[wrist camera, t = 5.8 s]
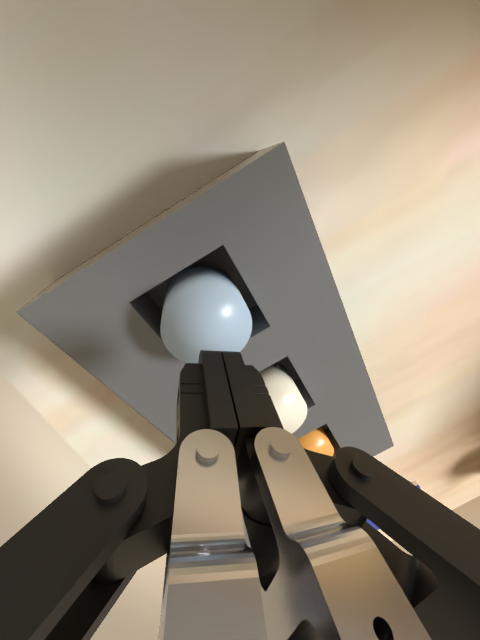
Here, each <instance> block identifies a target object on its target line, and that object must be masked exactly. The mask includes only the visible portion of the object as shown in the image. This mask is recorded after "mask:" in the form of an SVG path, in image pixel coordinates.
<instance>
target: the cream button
mask: <svg viewBox="0 0 480 640" xmlns="http://www.w3.org/2000/svg"><path fill="white" fill-rule="evenodd" d="M260 373H261V375H262V377H263V380H264V382H265V386H266V387H267V389H268V392H269V395H270V396H271V399H272V401H273V404H274V406H275V409H276V411H277V413H278V416H279V418H280V421H281V423H282V426H283V428H284V430H287V431H288V432H290V433H291V434H292V433H294V432H295V431H296V430H297V429H298V428H299V427H300V426H301V425H302V424H303V422H304V421H305V419H306V416H307V405H306V403H305V401H304V399H303V397H302V395H301V394H300V392H299V390H298V388H297V386H296V385H295V383H294V381H293V379H292V377H291V376H290V374H289V372H288V370H287V369H286V367H285V366H284V365H282V364H281V363H278V362H276V363H274V364H273V365H271V366H269V367H267V368H265V369H264V370H262V371H260Z"/></svg>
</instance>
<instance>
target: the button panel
mask: <svg viewBox="0 0 480 640" xmlns="http://www.w3.org/2000/svg"><path fill="white" fill-rule="evenodd" d="M195 266H210V267H214V268H217V269H220V270H222V271H223V272H225V273H226V274H228V275H229V276H230V277H231V278H232V279H233V281H234V282H235V284H236V286H237V288H238V289H239V291H240V293H241V295H242V297H243V299H244V301H245V303H246V305H247V307H248V309H249V311H250V314H251V318H252V331H251V335H250V338H249V340H248V342H247V344H246V345H245V347H244V348H243V349H242V350H241V351H240V353H241V355H242V358H243V361H244V364H245V365H253V366H254V367H255V368H256V369H257V370H258V371H259V372H260V371H262V370H264V369H265V368H267V367H269V366H271V365H273V364H274V363H276V362H278V363H281V364H282V365H284V366H285V367H286V369H287V370H288V372H289V374H290V376H291V377H292V379H293V381H294V383H295V385H296V386H297V388H298V390H299V392H300V394H301V395H302V397H303V399H304V401H305V403H306V405H307V416H306V419H305V421H304V422H303V424H302V425H301V426H300V427H299V428H298V429H297V430H296V431H295V432H294V433H292V434H293V435H294V436H295V437H296V438H297V439H298V438H300V437H302V436H304V435H306V434H308V433H310V432H311V431H313V430H315V429H317V428H319V427H322V428H323V430H324V432H325V434H326V436H327V437H328V439H329V441H330V443H331V444H332V446H333V448H334V454H333V457H334V456H335V454H336V452H337V451H338V450H339V449H340V448H342V447H347V446H348V447H355V448H358V449H361V450H363V451H365V452H366V453H368V454H369V455H371V456H372V457H373V456H375V455H377V454H379V453H381V452H383V451H385V450H387V449H389V448H390V447H392V446H394V445H393V442H392V439H391V437H390V434H389V431H388V428H387V425H386V423H385V420H384V417H383V414H382V412H381V409H380V406H379V403H378V401H377V398H376V395H375V392H374V389H373V387H372V384H371V381H370V378H369V376H368V373H367V370H366V367H365V364H364V362H363V359H362V356H361V353H360V351H359V348H358V345H357V342H356V340H355V337H354V334H353V331H352V328H351V326H350V323H349V320H348V317H347V315H346V312H345V309H344V306H343V303H342V301H341V298H340V295H339V292H338V290H337V287H336V284H335V281H334V278H333V276H332V273H331V270H330V267H329V265H328V262H327V259H326V256H325V254H324V251H323V248H322V245H321V242H320V240H319V237H318V234H317V231H316V229H315V226H314V223H313V220H312V217H311V215H310V212H309V209H308V206H307V204H306V201H305V198H304V195H303V193H302V190H301V187H300V184H299V181H298V179H297V176H296V173H295V170H294V168H293V165H292V162H291V159H290V156H289V154H288V151H287V148H286V145H285V143H284V142H282V143H279V144H276V145H274V146H271V147H268V148H265V149H262V150H259V151H258V152H256V153H255V154H253V155H252V156H250V157H248V158H247V159H245V160H244V161H242V162H241V163H239V164H237V165H236V166H234V167H233V168H231V169H230V170H228V171H227V172H225V173H223V174H222V175H220V176H219V177H217V178H216V179H214V180H212V181H211V182H209V183H208V184H206V185H205V186H203V187H202V188H200V189H198V190H197V191H195V192H194V193H192V194H191V195H189V196H187V197H186V198H184V199H183V200H181V201H180V202H178V203H176V204H175V205H173V206H172V207H170V208H169V209H167V210H166V211H164V212H162V213H161V214H159V215H158V216H156V217H155V218H153V219H151V220H150V221H148V222H147V223H145V224H144V225H142V226H141V227H139V228H137V229H136V230H134V231H133V232H131V233H130V234H128V235H126V236H125V237H123V238H122V239H120V240H119V241H117V242H116V243H114V244H112V245H111V246H109V247H108V248H106V249H105V250H103V251H101V252H100V253H98V254H97V255H95V256H94V257H92V258H91V259H89V260H87V261H86V262H84V263H83V264H81V265H80V266H78V267H76V268H75V269H73V270H72V271H70V272H69V273H67V274H65V275H64V276H62V277H61V278H59V279H58V280H56V281H55V282H53V283H52V284H51V285H49V286H48V287H47V288H46V289H44V290H43V291H42V292H41V293H40V294H38V295H37V296H36V297H35V298H33V299H32V300H31V301H30V302H28V303H27V304H26V305H25V306H24V307H22V308H21V309H20V310H19V311H17V313H18V314H19V315H20V316H22V317H23V318H24V319H25V320H26V321H28V322H29V323H30V324H31V325H32V326H34V327H35V328H36V329H37V330H39V331H40V332H41V333H42V334H43V335H45V336H46V337H47V338H48V339H49V340H51V341H52V342H53V343H54V344H56V345H57V346H58V347H59V348H60V349H62V350H63V351H64V352H65V353H66V354H68V355H69V356H70V357H71V358H73V359H74V360H75V361H76V362H77V363H79V364H80V365H81V366H82V367H83V368H85V369H86V370H87V371H88V372H90V373H91V374H92V375H93V376H94V377H96V378H97V379H98V380H99V381H100V382H102V383H103V384H104V385H105V386H107V387H108V388H109V389H110V390H111V391H113V392H114V393H115V394H116V395H117V396H119V397H120V398H121V399H122V400H124V401H125V402H126V403H127V404H128V405H130V406H131V407H132V408H133V409H134V410H136V411H137V412H138V413H139V414H141V415H142V416H143V417H144V418H145V419H147V420H148V421H149V422H150V423H151V424H153V425H154V426H155V427H156V428H158V429H159V430H160V431H161V432H162V433H164V434H165V435H166V436H167V437H168V438H170V439H171V440H172V441H173V442H175V443H176V406H177V395H178V387H179V378H180V372H181V370H182V369H183V367H184V365H185V364H186V363H185V362H182V361H181V360H179V359H177V358H176V357H174V356H173V355H172V354H171V353H170V352H169V351H168V349H167V348H166V347H165V345H164V343H163V340H162V337H161V332H160V326H161V318H162V311H163V304H164V297H165V292H166V289H167V287H168V285H169V283H170V282H171V280H172V279H173V278H174V277H175V276H176V275H177V274H179V273H180V272H182V271H184V270H186V269H188V268H191V267H195Z"/></svg>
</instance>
